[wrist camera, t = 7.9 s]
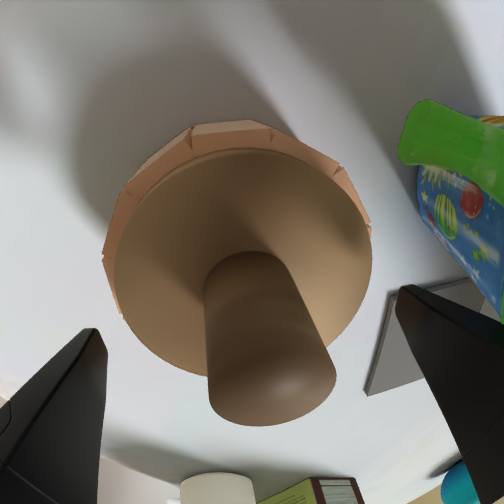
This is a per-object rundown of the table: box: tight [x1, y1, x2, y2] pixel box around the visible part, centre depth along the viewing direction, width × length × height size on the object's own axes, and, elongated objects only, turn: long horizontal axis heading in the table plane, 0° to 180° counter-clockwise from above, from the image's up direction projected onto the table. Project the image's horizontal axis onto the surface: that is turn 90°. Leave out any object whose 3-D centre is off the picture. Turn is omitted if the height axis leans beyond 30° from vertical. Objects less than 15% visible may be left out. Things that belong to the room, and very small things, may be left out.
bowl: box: [102, 120, 372, 320], centre depth 13 cm, size 10×10×4 cm
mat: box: [365, 278, 485, 397], centre depth 21 cm, size 10×10×1 cm
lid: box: [114, 147, 372, 426], centre depth 9 cm, size 8×8×5 cm
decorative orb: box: [441, 460, 480, 504], centre depth 44 cm, size 15×15×15 cm
